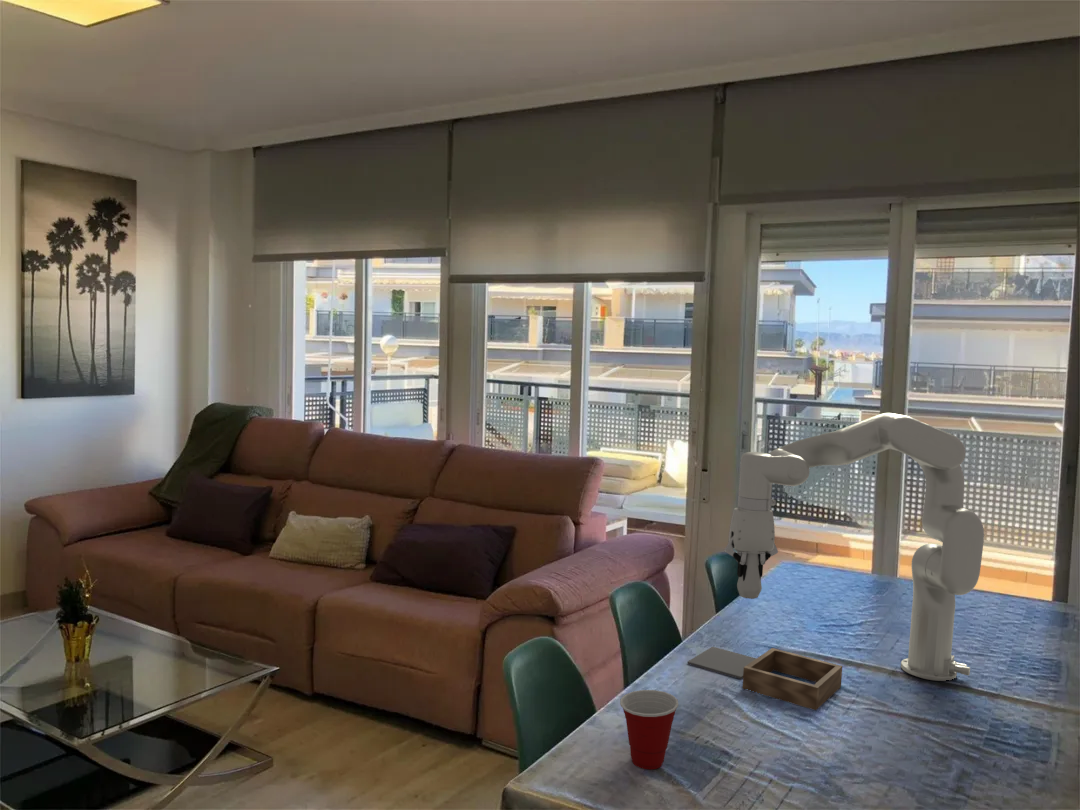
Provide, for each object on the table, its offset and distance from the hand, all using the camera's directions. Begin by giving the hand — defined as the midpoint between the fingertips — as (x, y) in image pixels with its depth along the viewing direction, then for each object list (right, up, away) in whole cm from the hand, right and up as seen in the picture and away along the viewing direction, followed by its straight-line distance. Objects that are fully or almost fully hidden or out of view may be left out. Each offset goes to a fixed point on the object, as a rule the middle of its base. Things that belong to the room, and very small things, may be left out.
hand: (749, 579), depth 205 cm
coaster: (-4, -22, +6) cm, 23 cm away
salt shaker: (0, -4, 0) cm, 4 cm away
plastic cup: (-31, -25, -46) cm, 61 cm away
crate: (+8, -24, -8) cm, 26 cm away
